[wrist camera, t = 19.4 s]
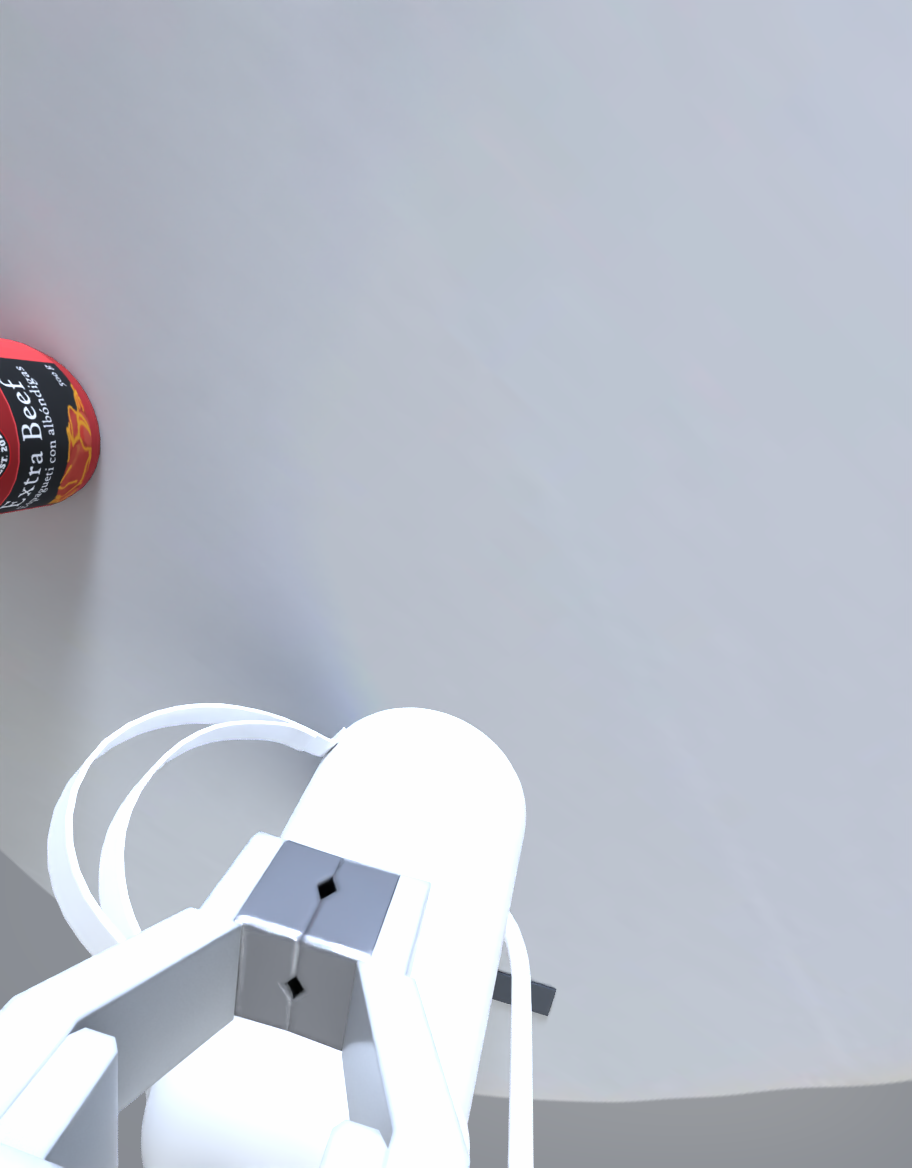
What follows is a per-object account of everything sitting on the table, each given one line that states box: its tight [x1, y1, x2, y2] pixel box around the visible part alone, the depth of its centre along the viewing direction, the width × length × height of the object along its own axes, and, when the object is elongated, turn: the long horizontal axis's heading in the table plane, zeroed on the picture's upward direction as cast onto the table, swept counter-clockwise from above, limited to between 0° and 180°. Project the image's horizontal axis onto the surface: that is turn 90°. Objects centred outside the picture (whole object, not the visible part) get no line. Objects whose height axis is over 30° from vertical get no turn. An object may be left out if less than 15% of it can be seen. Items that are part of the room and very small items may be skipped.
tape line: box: [492, 972, 556, 1016], centre depth 34 cm, size 18×2×1 cm, turn 79°
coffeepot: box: [47, 703, 533, 1168], centre depth 21 cm, size 11×25×19 cm, turn 46°
